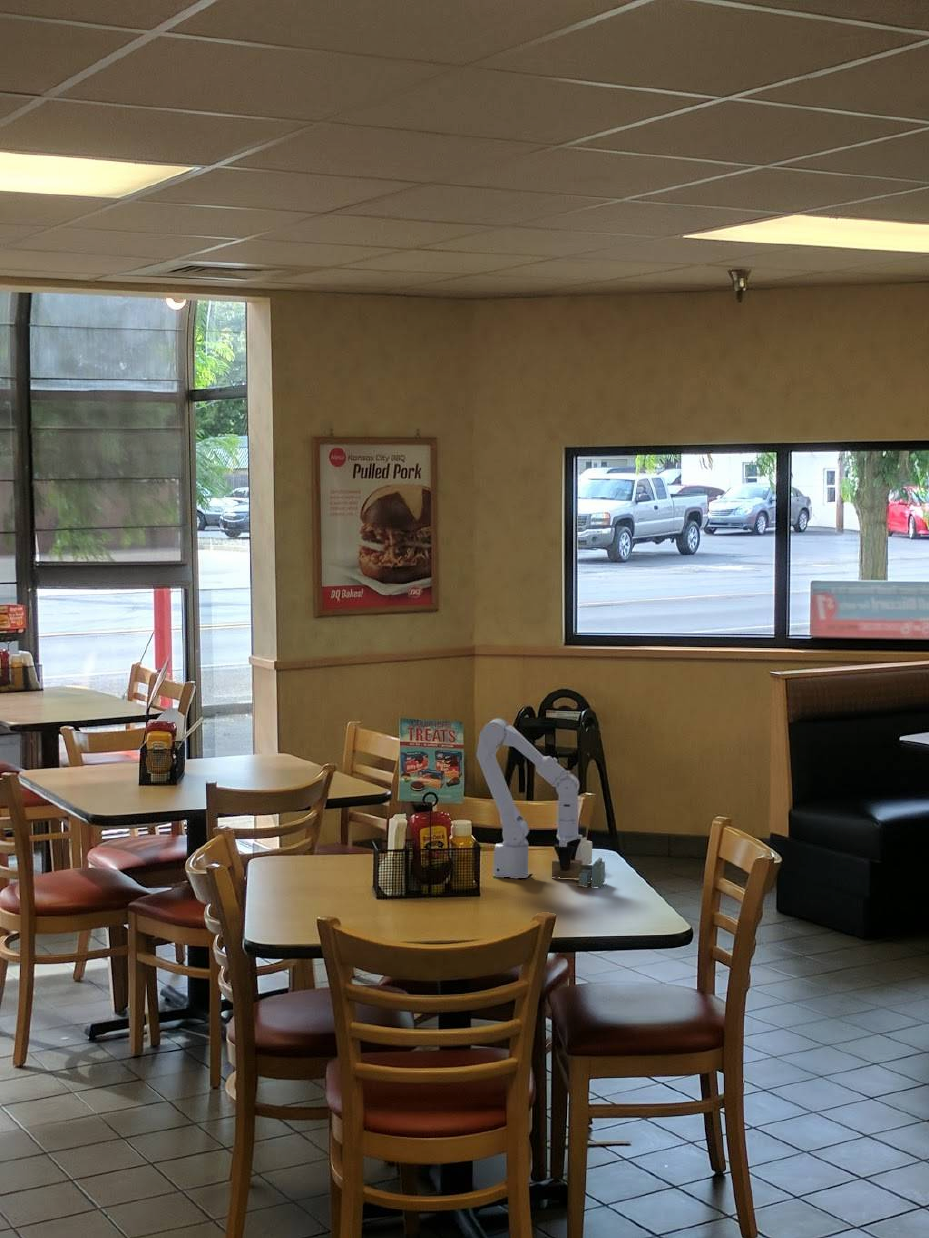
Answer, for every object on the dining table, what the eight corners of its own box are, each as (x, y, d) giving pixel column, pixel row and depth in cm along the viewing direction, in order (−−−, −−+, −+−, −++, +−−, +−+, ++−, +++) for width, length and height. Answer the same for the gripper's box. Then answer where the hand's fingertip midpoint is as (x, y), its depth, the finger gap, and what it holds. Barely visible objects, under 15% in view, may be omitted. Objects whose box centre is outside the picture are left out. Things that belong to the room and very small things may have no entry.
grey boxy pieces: (578, 887, 394) (578, 861, 394) (582, 881, 400) (582, 856, 400) (600, 888, 392) (601, 863, 392) (604, 883, 399) (605, 858, 398)
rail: (551, 878, 404) (552, 860, 404) (553, 876, 407) (554, 858, 406) (592, 881, 401) (593, 863, 401) (594, 879, 404) (594, 861, 404)
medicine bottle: (592, 865, 421) (592, 824, 420) (580, 870, 415) (581, 828, 414) (570, 862, 425) (571, 821, 424) (558, 866, 419) (559, 825, 418)
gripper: (577, 824, 395) (577, 874, 396) (586, 815, 409) (586, 862, 410) (551, 823, 397) (551, 872, 398) (562, 813, 411) (561, 861, 412)
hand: (567, 867), depth 404 cm, fingers open, 7 cm apart
